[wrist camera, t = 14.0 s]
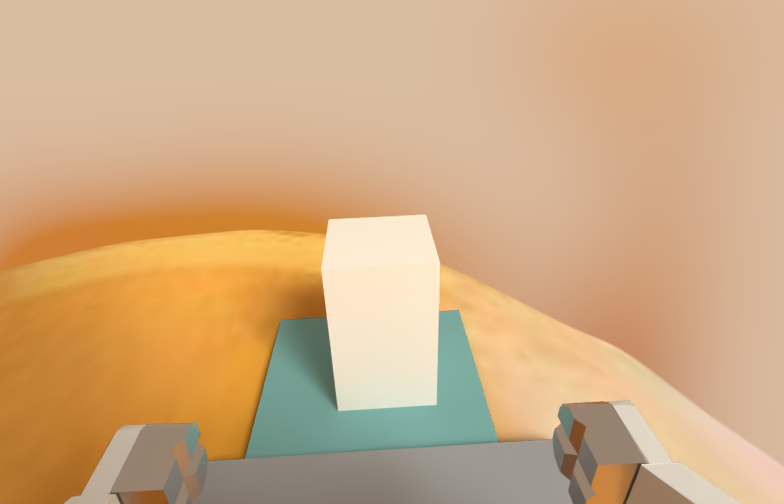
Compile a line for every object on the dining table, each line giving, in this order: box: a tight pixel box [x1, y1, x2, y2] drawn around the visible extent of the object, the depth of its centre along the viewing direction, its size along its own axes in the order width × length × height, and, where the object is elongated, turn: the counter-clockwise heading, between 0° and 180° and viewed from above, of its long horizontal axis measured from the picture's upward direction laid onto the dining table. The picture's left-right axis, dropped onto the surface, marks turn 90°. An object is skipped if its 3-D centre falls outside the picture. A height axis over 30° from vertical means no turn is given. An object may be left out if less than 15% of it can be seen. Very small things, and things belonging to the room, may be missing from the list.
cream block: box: [321, 215, 440, 411], centre depth 29 cm, size 6×6×10 cm
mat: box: [245, 310, 499, 459], centre depth 31 cm, size 14×13×1 cm
